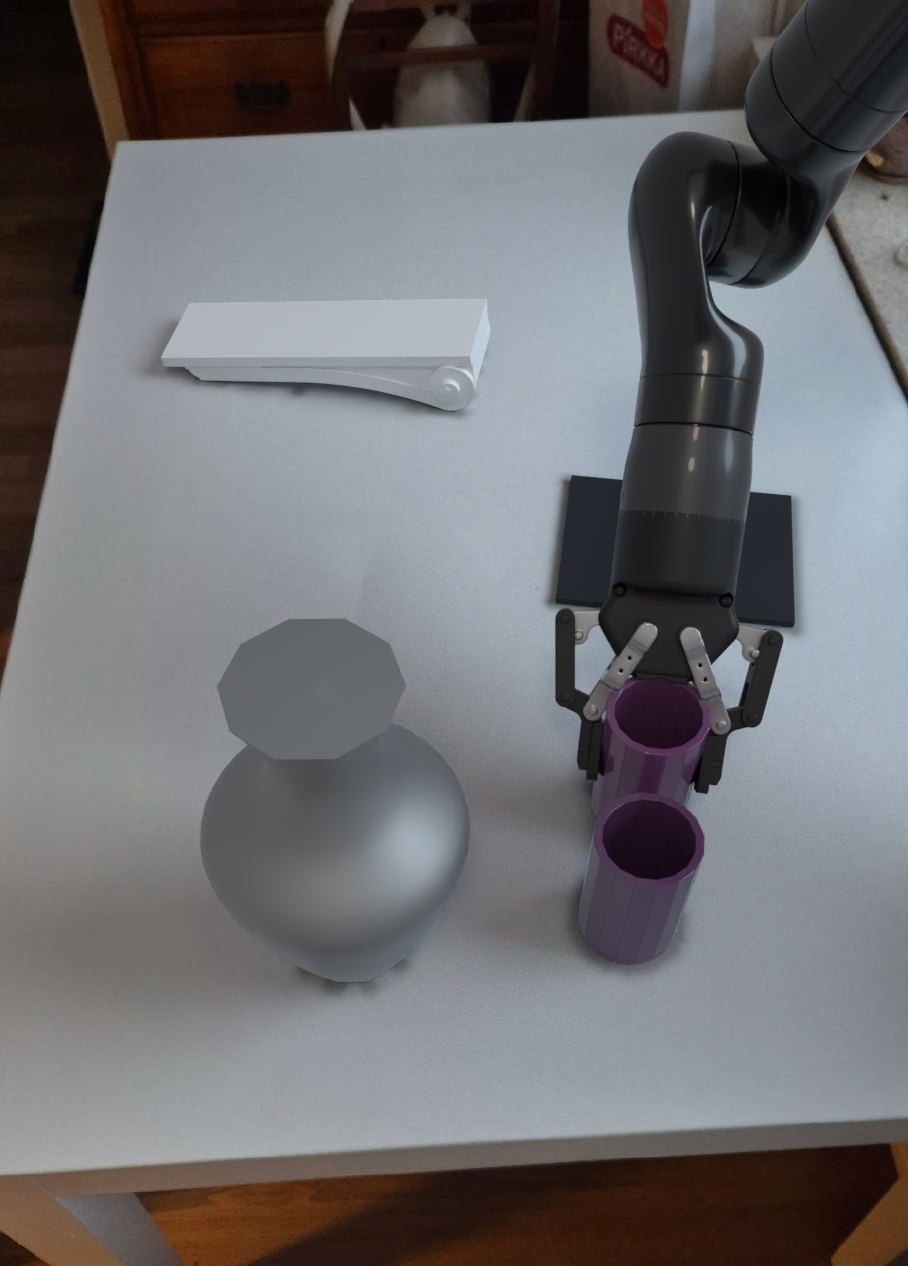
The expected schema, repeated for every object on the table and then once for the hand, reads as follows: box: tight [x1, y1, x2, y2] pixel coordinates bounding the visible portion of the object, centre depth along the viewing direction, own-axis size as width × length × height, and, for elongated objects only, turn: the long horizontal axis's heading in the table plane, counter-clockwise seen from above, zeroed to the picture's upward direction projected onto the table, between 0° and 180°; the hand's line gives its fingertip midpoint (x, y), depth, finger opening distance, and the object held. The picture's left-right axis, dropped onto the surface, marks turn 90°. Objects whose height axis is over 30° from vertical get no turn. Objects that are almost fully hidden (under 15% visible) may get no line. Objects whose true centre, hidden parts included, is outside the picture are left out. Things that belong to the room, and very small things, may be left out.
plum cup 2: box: [577, 792, 706, 965], centre depth 68 cm, size 6×6×10 cm
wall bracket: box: [160, 297, 491, 412], centre depth 102 cm, size 10×7×28 cm
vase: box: [199, 618, 471, 983], centre depth 61 cm, size 14×14×25 cm
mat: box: [555, 474, 796, 628], centre depth 90 cm, size 18×14×1 cm
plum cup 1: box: [590, 676, 711, 820], centre depth 72 cm, size 6×6×10 cm
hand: (646, 784), depth 71 cm, fingers closed on plum cup 1, 6 cm apart
